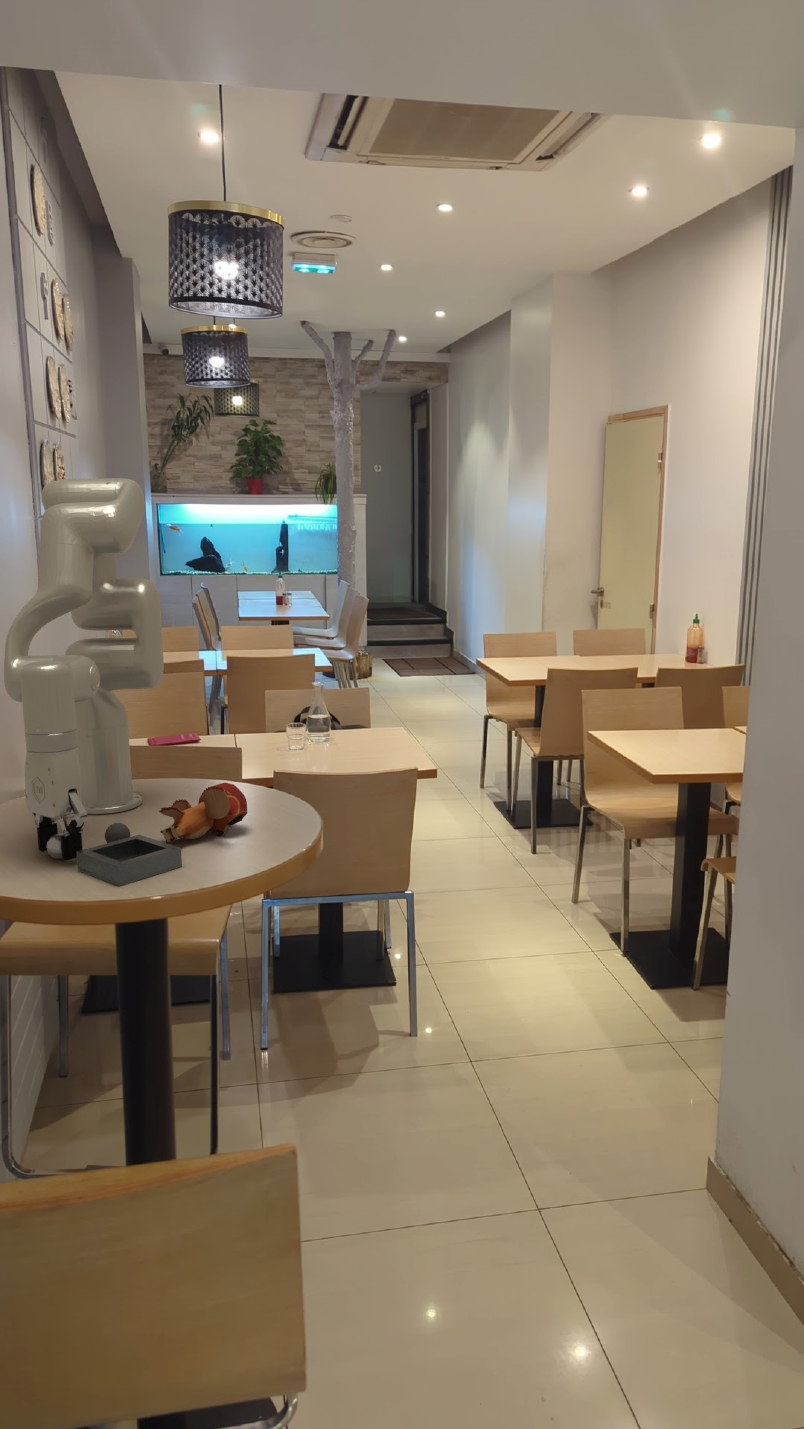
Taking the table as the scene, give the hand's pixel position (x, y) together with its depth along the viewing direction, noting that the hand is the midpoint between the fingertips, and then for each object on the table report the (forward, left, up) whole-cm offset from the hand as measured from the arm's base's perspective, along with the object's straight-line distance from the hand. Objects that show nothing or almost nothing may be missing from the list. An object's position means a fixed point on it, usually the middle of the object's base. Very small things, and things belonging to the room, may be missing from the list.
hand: (60, 853), depth 153 cm
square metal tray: (+13, +4, -1) cm, 14 cm away
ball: (+2, +9, +1) cm, 9 cm away
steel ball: (0, 0, +1) cm, 1 cm away
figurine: (+8, +21, -1) cm, 22 cm away
